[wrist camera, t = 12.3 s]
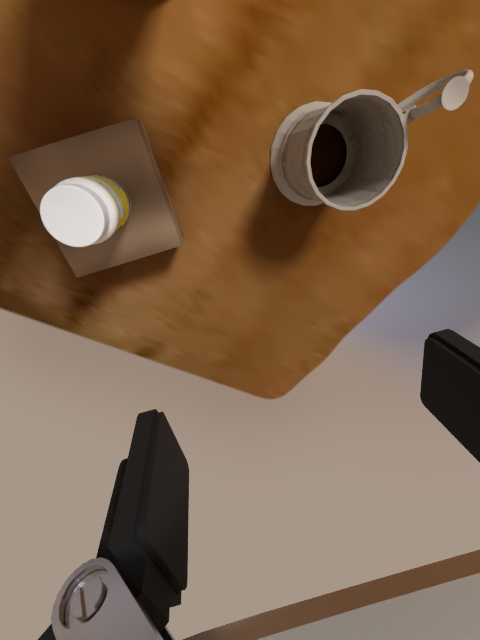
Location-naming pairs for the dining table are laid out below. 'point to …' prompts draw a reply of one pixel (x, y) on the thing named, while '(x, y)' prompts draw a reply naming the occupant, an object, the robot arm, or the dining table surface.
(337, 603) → the robot arm
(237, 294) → the dining table surface
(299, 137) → the mug
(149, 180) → the walnut block
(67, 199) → the supplement bottle
